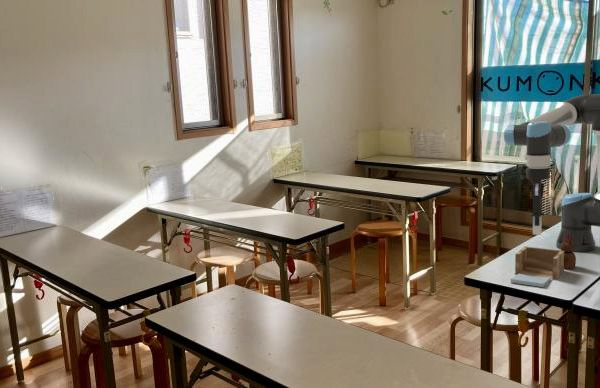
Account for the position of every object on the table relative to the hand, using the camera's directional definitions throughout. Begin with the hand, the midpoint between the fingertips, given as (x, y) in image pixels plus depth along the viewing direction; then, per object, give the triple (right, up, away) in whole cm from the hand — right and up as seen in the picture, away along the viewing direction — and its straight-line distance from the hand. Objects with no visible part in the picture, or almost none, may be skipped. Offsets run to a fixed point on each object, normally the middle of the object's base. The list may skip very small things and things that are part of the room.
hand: (537, 234), depth 206 cm
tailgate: (+1, -16, +5) cm, 16 cm away
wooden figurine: (+17, -15, +15) cm, 27 cm away
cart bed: (+5, -16, +10) cm, 20 cm away
